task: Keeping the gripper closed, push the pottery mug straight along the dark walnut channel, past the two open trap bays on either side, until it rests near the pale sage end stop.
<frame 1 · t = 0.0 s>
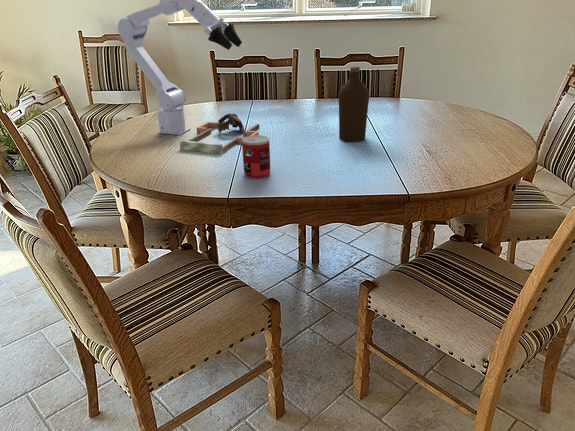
hand: (235, 46, 165), 32 cm above the table, tool tilted 50°, fingers open, 7 cm apart
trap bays: (222, 137, 179), on the table
canned food: (257, 174, 146), on the table
channel: (222, 137, 179), on the table
olive oil: (352, 138, 176), on the table
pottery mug: (232, 132, 186), on the table
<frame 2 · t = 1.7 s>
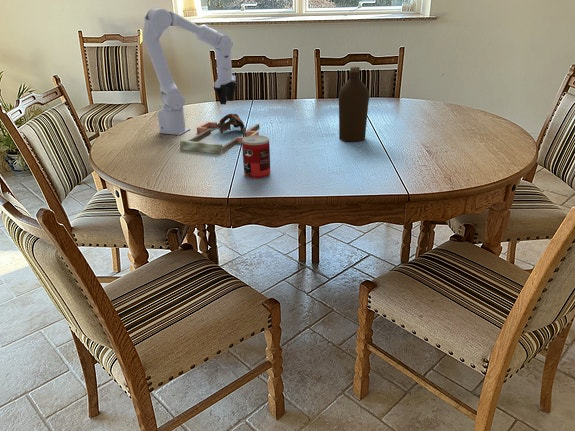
hand: (227, 102, 194), 8 cm above the table, tool pointing down, fingers open, 6 cm apart
nothing on the table moved.
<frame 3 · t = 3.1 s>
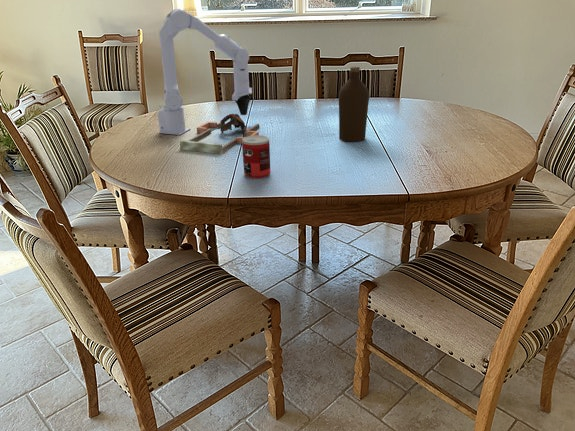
hand: (243, 114, 194), 4 cm above the table, tool pointing down, fingers closed
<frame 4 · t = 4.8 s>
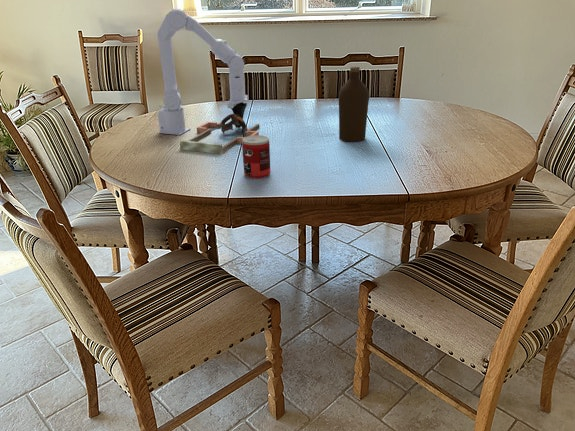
hand: (239, 122, 191), 2 cm above the table, tool pointing down, fingers closed
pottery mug: (235, 132, 185), on the table, touching gripper
everything else where it was.
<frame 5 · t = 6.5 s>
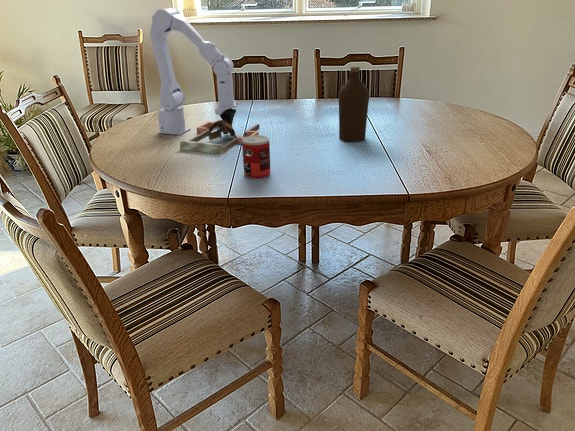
hand: (228, 128, 183), 2 cm above the table, tool pointing down, fingers closed
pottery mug: (223, 139, 177), on the table, touching gripper
everything else where it was.
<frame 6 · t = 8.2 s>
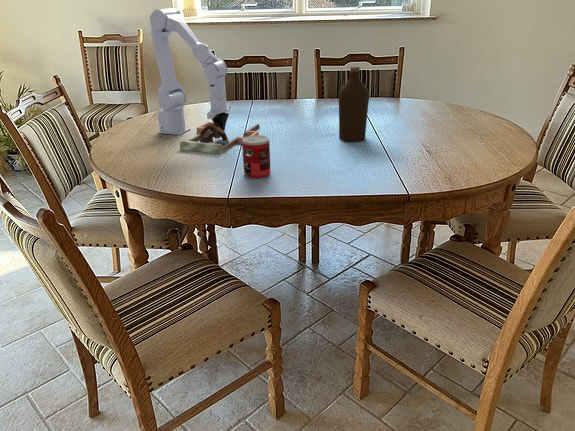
hand: (221, 133, 178), 2 cm above the table, tool pointing down, fingers closed
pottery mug: (215, 144, 172), on the table, touching gripper
everything else where it was.
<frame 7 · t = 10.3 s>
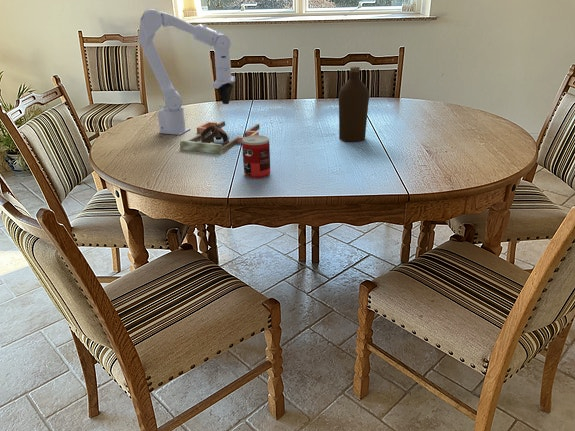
hand: (225, 103, 189), 9 cm above the table, tool pointing down, fingers closed
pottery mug: (216, 145, 172), on the table
everything else where it was.
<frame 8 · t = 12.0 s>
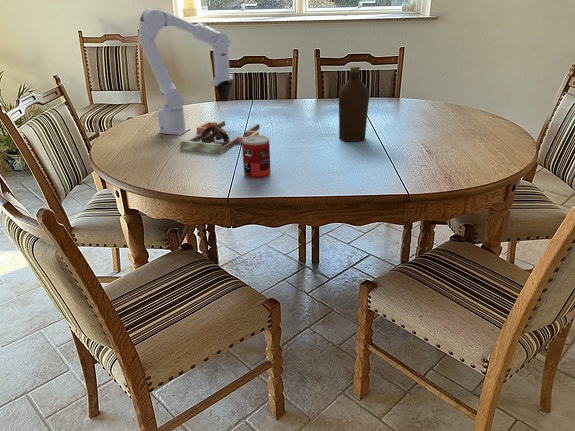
hand: (224, 101, 192), 9 cm above the table, tool pointing down, fingers closed
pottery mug: (217, 145, 172), on the table, touching channel
everything else where it was.
at the end: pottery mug inside the target area (2.3 cm from its centre), on the table; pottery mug tilted 0°; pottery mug moved 16.1 cm from its start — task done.
